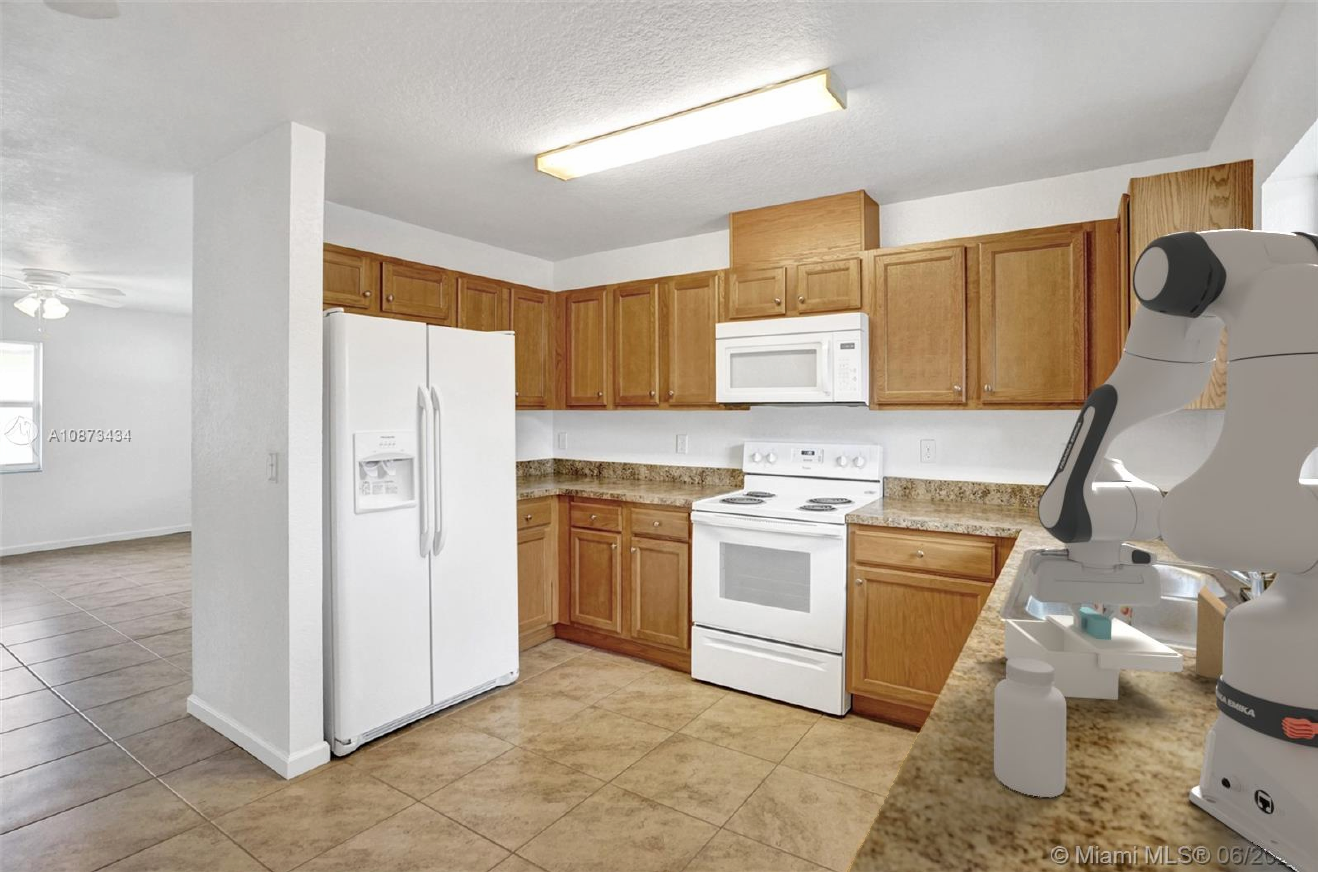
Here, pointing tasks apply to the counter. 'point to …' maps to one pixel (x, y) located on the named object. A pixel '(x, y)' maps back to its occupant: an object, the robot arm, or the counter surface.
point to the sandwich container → (1210, 634)
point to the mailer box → (1061, 658)
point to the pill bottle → (1030, 729)
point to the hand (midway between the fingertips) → (1091, 628)
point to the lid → (1120, 643)
